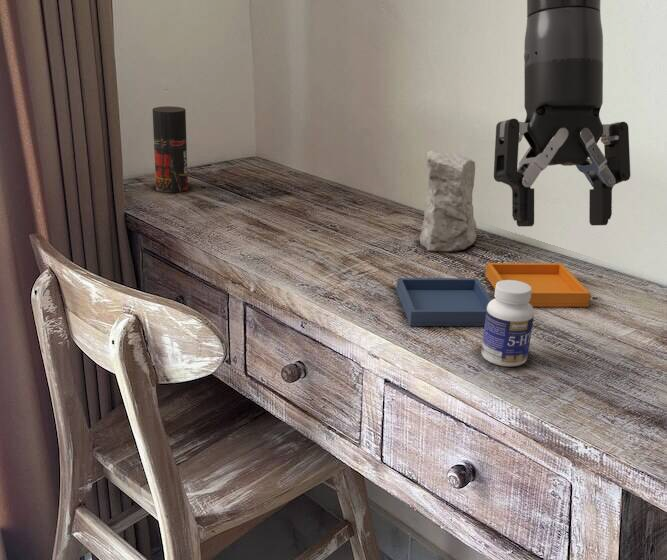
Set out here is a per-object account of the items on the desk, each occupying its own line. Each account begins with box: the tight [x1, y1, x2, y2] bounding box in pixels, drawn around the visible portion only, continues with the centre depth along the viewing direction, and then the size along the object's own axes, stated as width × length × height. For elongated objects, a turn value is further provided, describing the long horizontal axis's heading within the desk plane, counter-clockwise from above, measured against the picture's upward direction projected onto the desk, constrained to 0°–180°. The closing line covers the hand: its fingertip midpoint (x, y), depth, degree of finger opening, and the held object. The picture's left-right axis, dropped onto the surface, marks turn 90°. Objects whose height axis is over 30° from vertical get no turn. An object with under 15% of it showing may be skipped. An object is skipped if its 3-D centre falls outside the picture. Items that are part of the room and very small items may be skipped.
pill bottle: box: [481, 280, 535, 367], centre depth 92 cm, size 5×5×9 cm
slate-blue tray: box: [396, 277, 493, 327], centre depth 106 cm, size 11×11×2 cm
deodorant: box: [152, 105, 189, 194], centre depth 152 cm, size 6×6×15 cm
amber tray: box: [484, 262, 591, 308], centre depth 113 cm, size 11×11×2 cm
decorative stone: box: [419, 149, 477, 253], centre depth 128 cm, size 10×9×15 cm
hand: (562, 225), depth 82 cm, fingers open, 8 cm apart
